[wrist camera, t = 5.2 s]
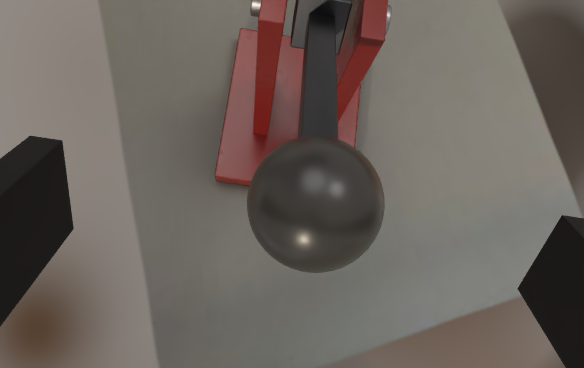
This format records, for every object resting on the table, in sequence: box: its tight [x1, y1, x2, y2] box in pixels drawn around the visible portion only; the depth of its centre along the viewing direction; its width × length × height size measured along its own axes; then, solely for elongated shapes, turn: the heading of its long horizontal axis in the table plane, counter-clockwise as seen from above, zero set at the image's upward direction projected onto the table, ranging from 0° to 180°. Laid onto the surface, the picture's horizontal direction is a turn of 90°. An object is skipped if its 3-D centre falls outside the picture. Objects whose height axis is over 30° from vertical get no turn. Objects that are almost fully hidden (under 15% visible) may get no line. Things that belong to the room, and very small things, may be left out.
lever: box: [247, 0, 384, 273], centre depth 15 cm, size 14×4×4 cm, turn 173°
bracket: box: [215, 0, 391, 186], centre depth 24 cm, size 11×9×14 cm
